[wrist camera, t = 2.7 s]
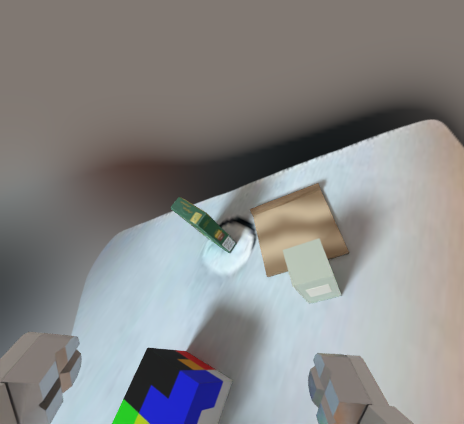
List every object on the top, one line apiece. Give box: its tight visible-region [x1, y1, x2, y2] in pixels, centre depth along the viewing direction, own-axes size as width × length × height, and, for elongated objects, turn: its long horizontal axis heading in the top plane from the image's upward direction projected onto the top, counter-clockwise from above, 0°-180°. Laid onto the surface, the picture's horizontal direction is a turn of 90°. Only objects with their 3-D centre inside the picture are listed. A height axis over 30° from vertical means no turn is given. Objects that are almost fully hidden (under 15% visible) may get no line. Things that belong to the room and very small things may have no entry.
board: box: [250, 183, 349, 277], centre depth 45 cm, size 14×14×2 cm
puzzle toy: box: [112, 348, 233, 424], centre depth 36 cm, size 10×10×10 cm
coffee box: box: [171, 197, 236, 253], centre depth 47 cm, size 8×3×13 cm, turn 50°
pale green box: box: [283, 239, 341, 304], centre depth 35 cm, size 5×5×11 cm
